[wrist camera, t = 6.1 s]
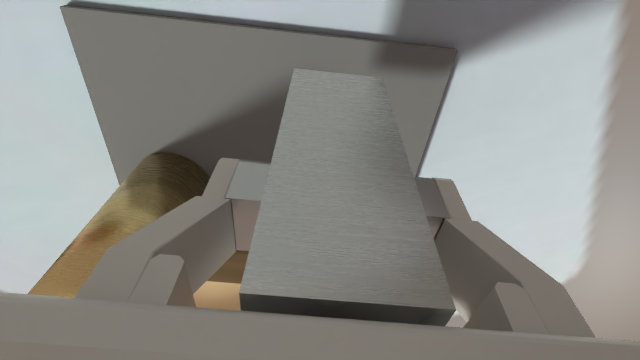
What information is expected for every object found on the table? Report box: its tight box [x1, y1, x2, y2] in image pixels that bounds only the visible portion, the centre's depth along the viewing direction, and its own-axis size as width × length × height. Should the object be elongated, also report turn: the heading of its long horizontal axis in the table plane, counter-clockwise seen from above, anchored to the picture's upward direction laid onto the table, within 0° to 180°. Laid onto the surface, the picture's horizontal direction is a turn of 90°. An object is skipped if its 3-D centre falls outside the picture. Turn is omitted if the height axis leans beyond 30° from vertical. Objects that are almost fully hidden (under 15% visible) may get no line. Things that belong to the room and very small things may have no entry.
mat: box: [60, 5, 457, 185], centre depth 21 cm, size 22×18×1 cm
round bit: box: [28, 152, 210, 298], centre depth 17 cm, size 5×5×9 cm
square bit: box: [239, 68, 456, 326], centre depth 9 cm, size 3×3×9 cm
